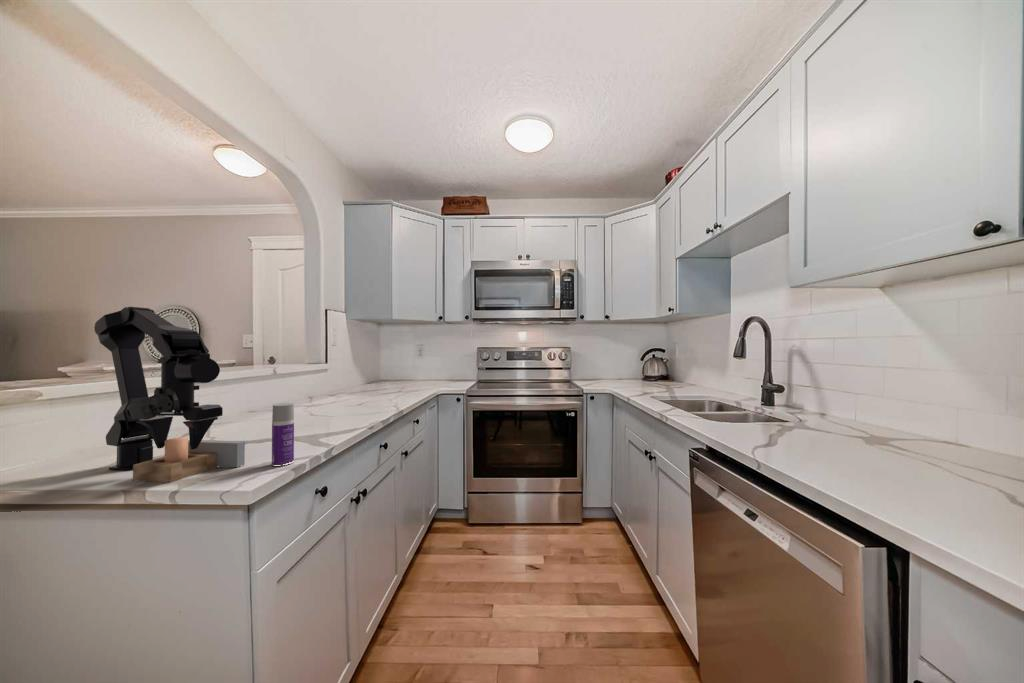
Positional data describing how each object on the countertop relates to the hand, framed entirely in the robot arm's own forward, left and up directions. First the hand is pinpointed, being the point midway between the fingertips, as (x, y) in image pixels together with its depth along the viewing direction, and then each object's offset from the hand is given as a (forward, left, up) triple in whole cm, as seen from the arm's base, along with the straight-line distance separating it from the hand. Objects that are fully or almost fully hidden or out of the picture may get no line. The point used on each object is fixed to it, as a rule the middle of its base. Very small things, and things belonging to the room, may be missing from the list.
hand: (177, 448), depth 82 cm
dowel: (0, 0, -6) cm, 6 cm away
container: (+20, +9, -6) cm, 23 cm away
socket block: (0, 0, -6) cm, 6 cm away
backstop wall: (+3, +6, -6) cm, 9 cm away
